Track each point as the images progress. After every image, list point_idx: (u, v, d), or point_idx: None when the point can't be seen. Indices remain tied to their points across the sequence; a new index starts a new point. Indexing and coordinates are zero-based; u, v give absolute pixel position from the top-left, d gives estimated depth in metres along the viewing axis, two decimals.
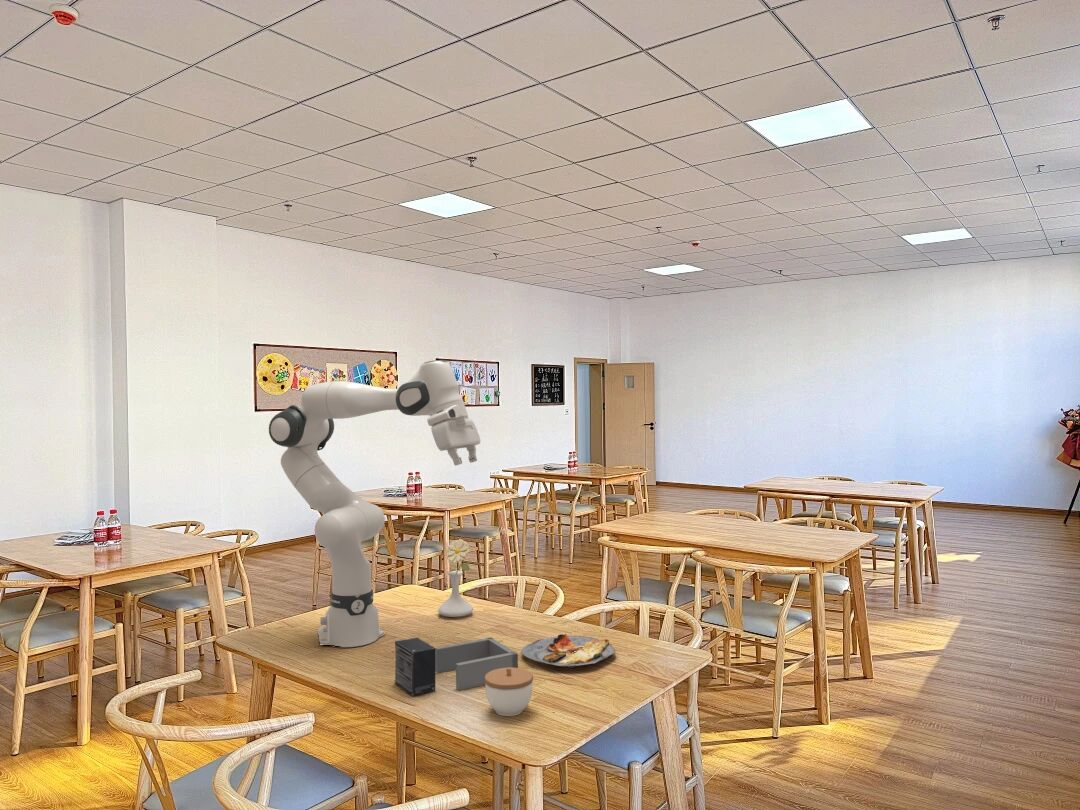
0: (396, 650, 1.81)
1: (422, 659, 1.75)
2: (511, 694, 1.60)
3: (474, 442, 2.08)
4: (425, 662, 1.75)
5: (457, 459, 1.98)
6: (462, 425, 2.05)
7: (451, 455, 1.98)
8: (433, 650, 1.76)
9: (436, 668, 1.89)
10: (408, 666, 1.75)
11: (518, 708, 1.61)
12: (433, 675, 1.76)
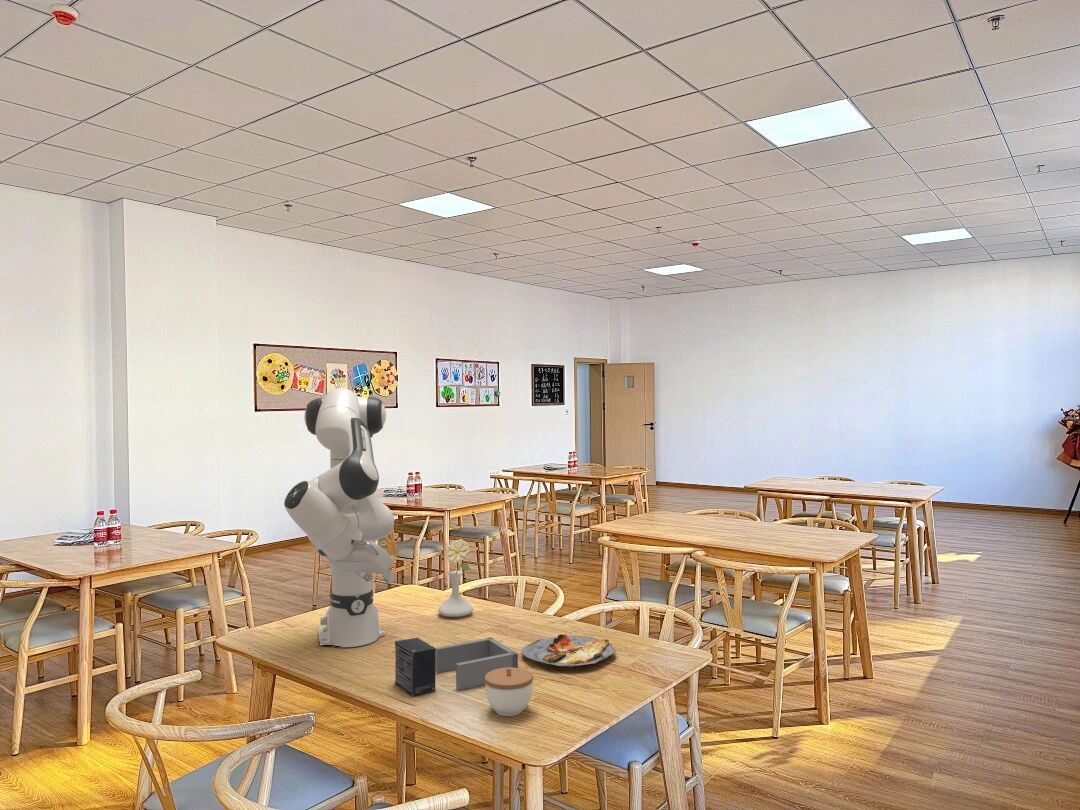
0: (396, 650, 1.81)
1: (422, 659, 1.75)
2: (511, 694, 1.60)
3: (374, 572, 1.67)
4: (425, 662, 1.75)
5: None
6: None
7: None
8: (433, 650, 1.76)
9: (436, 668, 1.89)
10: (408, 666, 1.75)
11: (518, 708, 1.61)
12: (433, 675, 1.76)
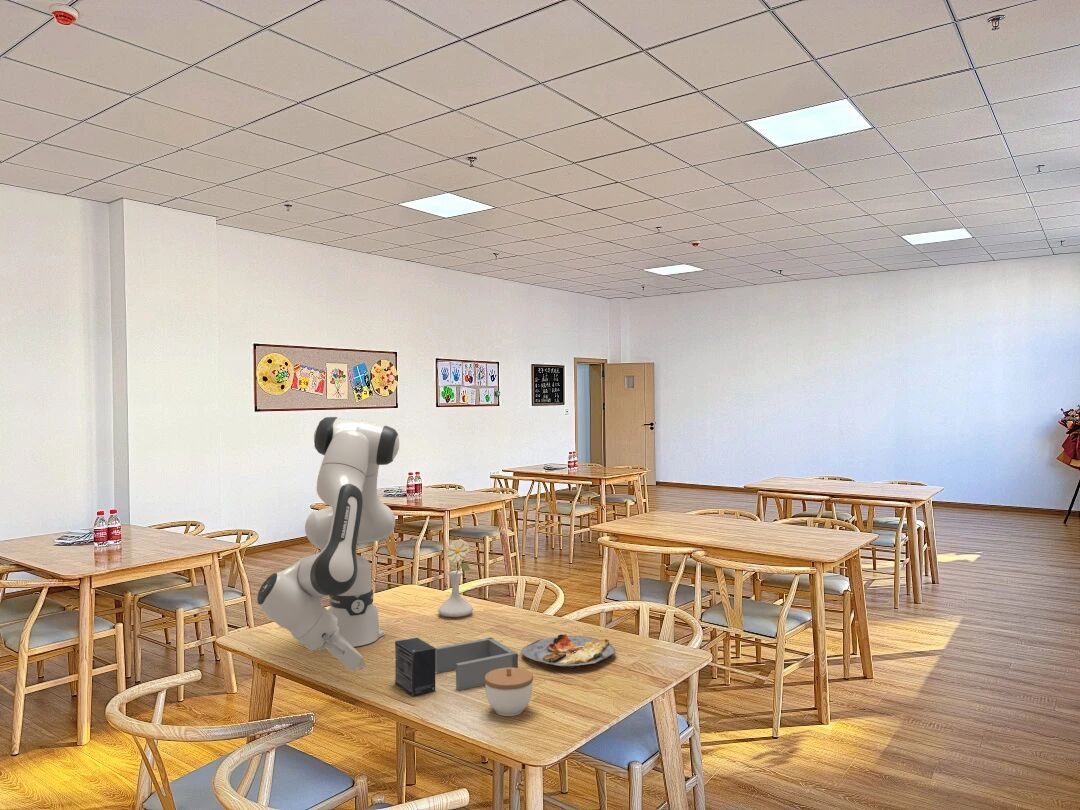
0: (396, 650, 1.81)
1: (422, 659, 1.75)
2: (511, 695, 1.60)
3: None
4: (425, 662, 1.75)
5: None
6: None
7: None
8: (433, 650, 1.76)
9: (436, 668, 1.89)
10: (408, 666, 1.75)
11: (518, 708, 1.61)
12: (433, 675, 1.76)
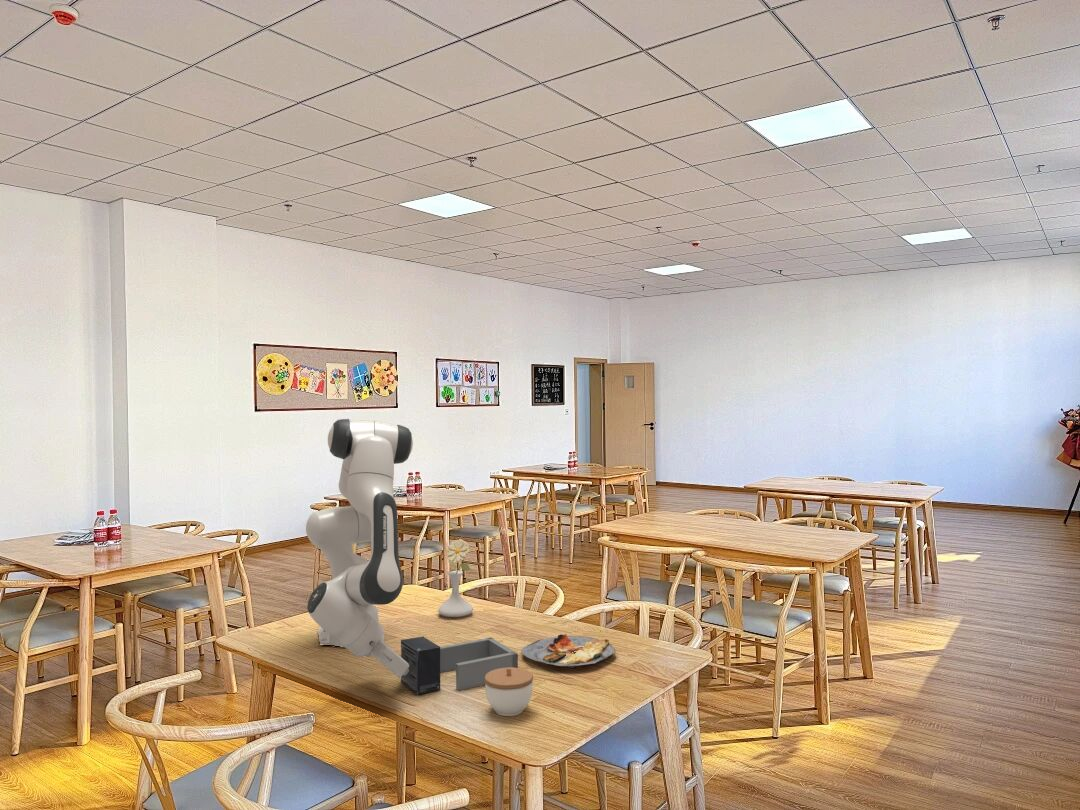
0: (402, 649, 1.82)
1: (427, 657, 1.75)
2: (511, 695, 1.60)
3: None
4: (430, 661, 1.76)
5: None
6: None
7: None
8: (438, 649, 1.77)
9: None
10: (413, 665, 1.76)
11: (518, 708, 1.61)
12: (438, 674, 1.77)
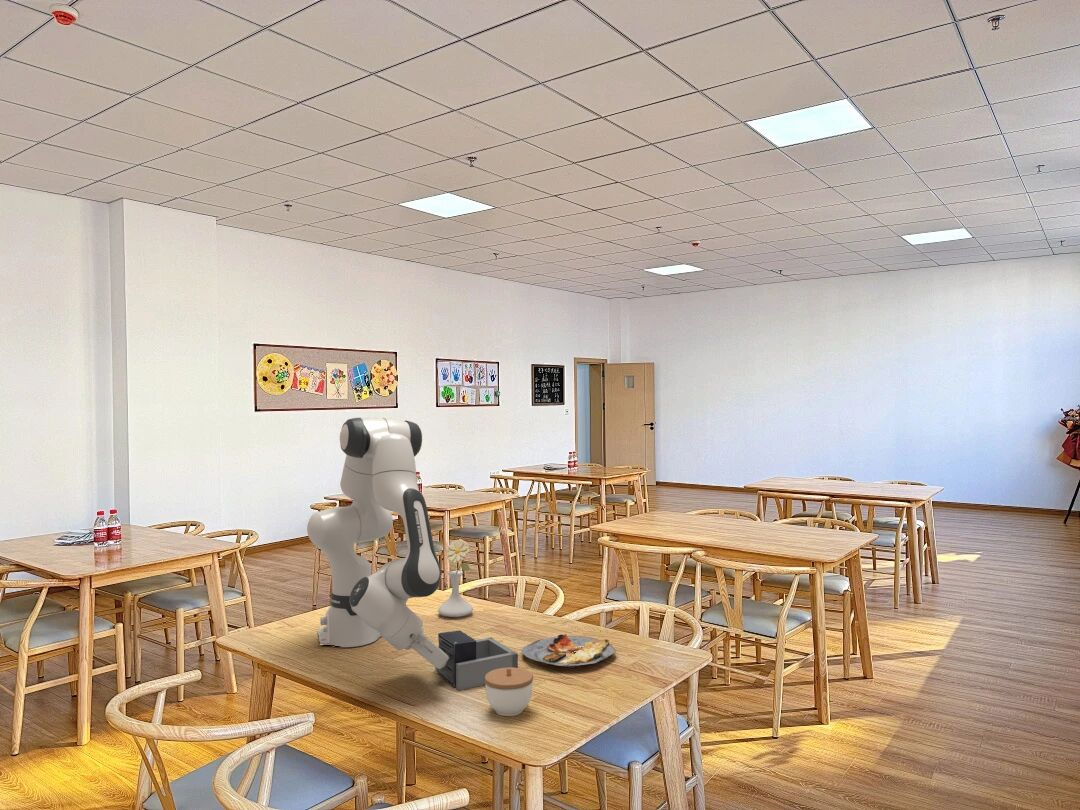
0: (439, 642, 1.87)
1: (463, 651, 1.80)
2: (511, 695, 1.60)
3: None
4: (466, 654, 1.80)
5: None
6: None
7: None
8: (474, 643, 1.81)
9: (436, 668, 1.89)
10: (450, 657, 1.80)
11: (518, 708, 1.61)
12: None
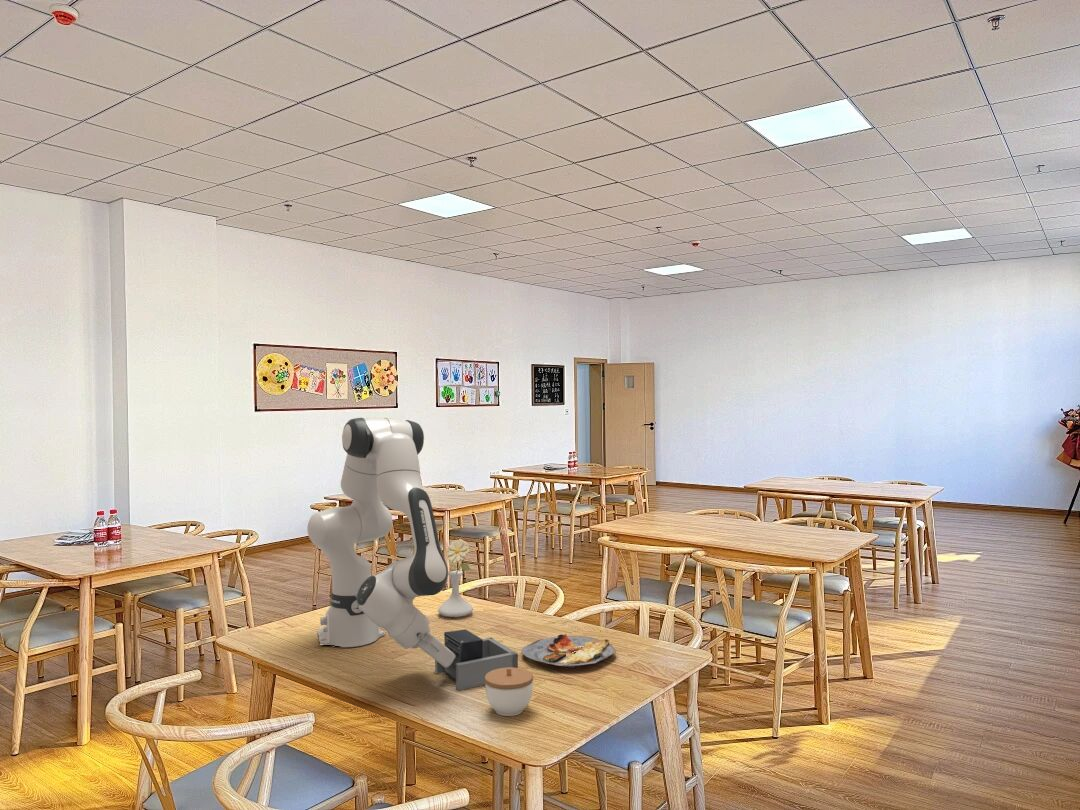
0: (445, 641, 1.88)
1: (470, 649, 1.81)
2: (511, 694, 1.60)
3: (439, 662, 1.76)
4: (473, 653, 1.81)
5: None
6: None
7: None
8: (480, 641, 1.82)
9: (436, 668, 1.89)
10: (457, 656, 1.81)
11: (518, 708, 1.61)
12: None
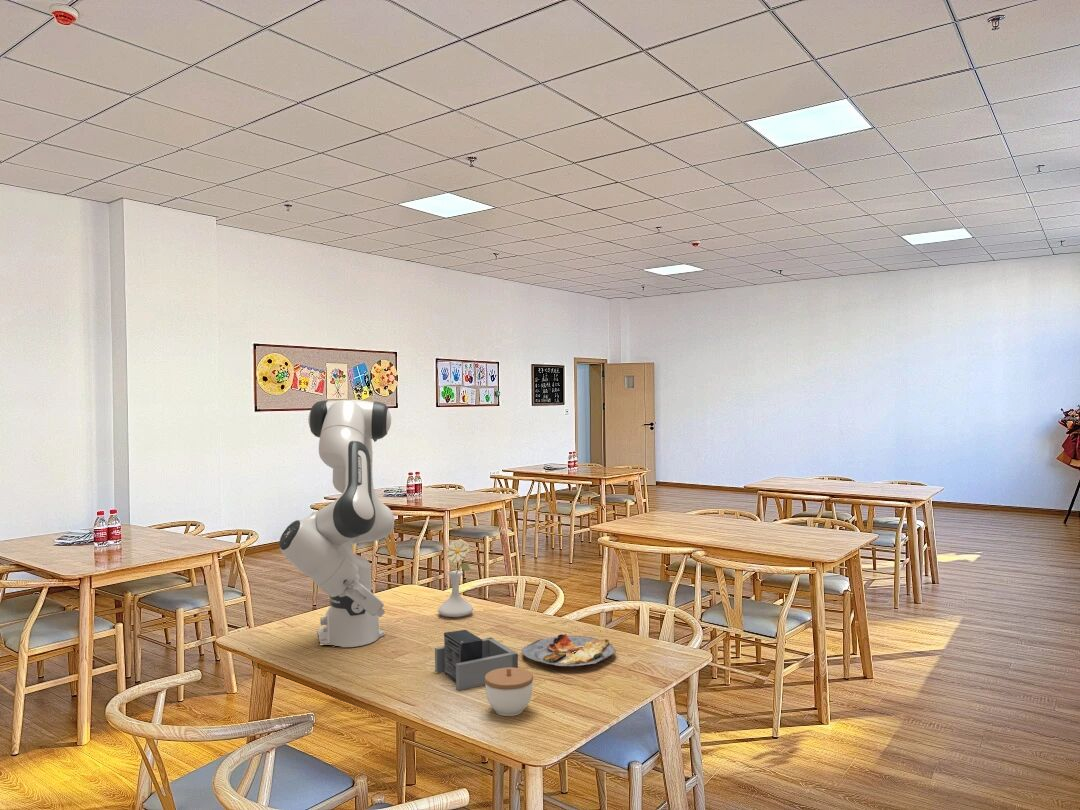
0: (445, 641, 1.88)
1: (470, 650, 1.81)
2: (511, 694, 1.60)
3: None
4: (473, 653, 1.81)
5: None
6: None
7: None
8: (480, 642, 1.82)
9: (436, 668, 1.89)
10: (457, 657, 1.81)
11: (518, 708, 1.61)
12: None
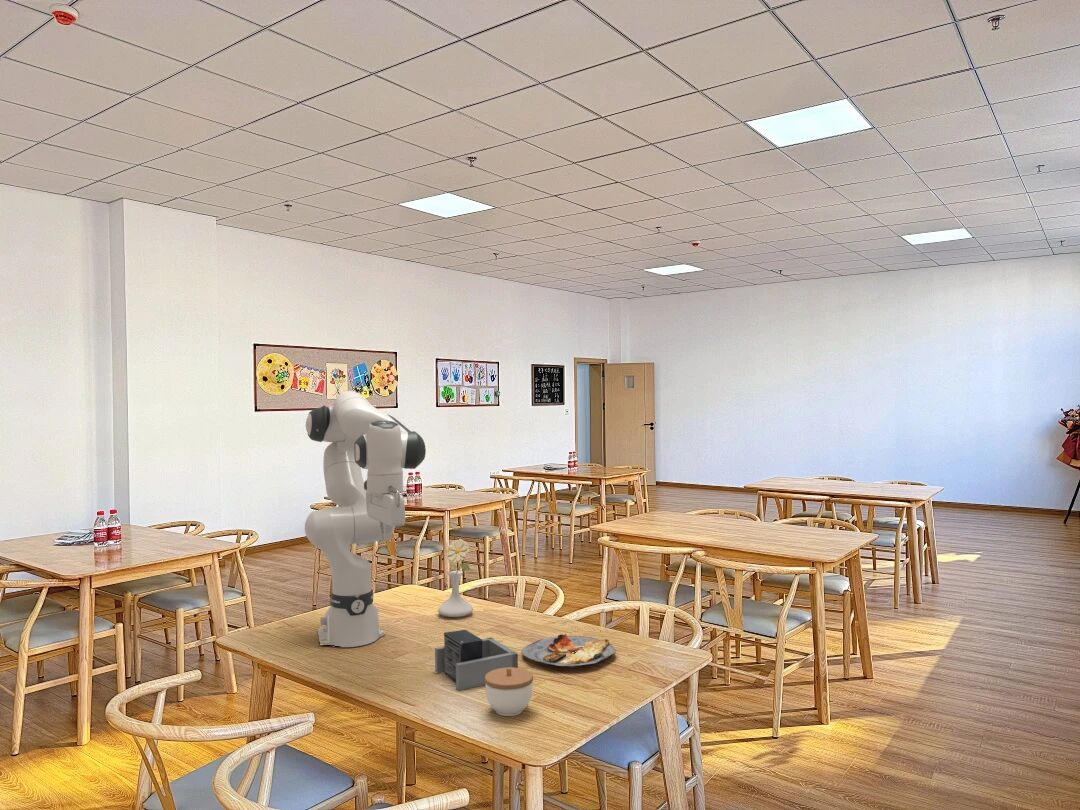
0: (445, 641, 1.87)
1: (470, 650, 1.81)
2: (511, 694, 1.60)
3: (385, 522, 1.83)
4: (473, 653, 1.81)
5: None
6: (380, 500, 1.86)
7: None
8: (480, 642, 1.82)
9: (436, 668, 1.89)
10: (457, 657, 1.81)
11: (518, 708, 1.61)
12: None
